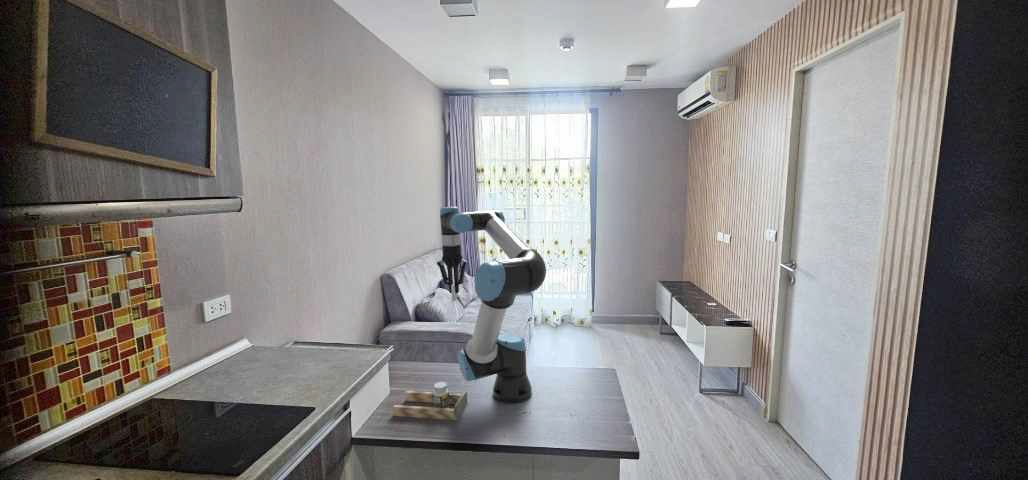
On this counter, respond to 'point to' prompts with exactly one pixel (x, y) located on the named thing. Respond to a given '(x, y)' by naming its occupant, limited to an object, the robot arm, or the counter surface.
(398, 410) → the bay
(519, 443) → the counter surface
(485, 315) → the robot arm
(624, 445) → the counter surface
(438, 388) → the pill bottle
